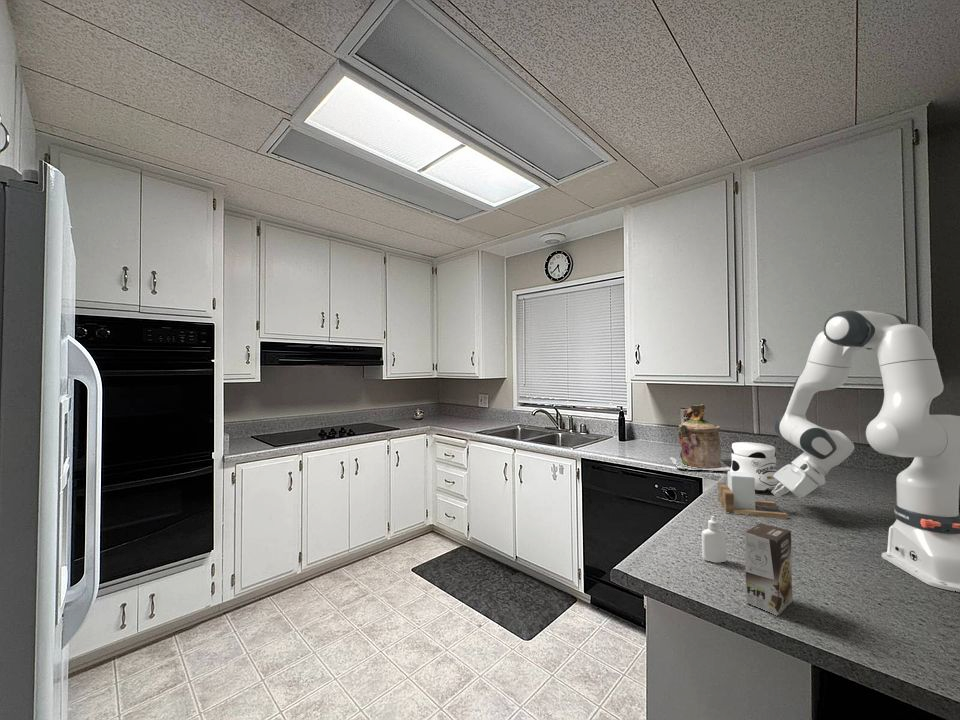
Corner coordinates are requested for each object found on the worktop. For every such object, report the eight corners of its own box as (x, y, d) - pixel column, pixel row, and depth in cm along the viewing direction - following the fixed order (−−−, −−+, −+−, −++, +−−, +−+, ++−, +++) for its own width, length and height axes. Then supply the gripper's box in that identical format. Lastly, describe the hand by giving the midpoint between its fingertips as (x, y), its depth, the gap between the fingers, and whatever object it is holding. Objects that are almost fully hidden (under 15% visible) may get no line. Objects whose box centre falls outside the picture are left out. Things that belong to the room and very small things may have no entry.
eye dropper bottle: (704, 554, 115) (703, 511, 115) (727, 560, 112) (726, 516, 112) (700, 560, 112) (699, 516, 112) (724, 566, 108) (723, 521, 108)
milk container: (779, 498, 160) (777, 451, 160) (727, 490, 170) (726, 447, 170) (780, 486, 173) (779, 444, 173) (732, 480, 184) (731, 440, 184)
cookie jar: (719, 461, 217) (717, 401, 217) (734, 474, 194) (733, 406, 194) (668, 459, 224) (667, 401, 224) (677, 471, 200) (676, 405, 200)
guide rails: (787, 519, 139) (787, 514, 139) (726, 513, 145) (726, 509, 145) (775, 506, 151) (774, 502, 151) (719, 501, 157) (719, 497, 157)
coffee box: (778, 617, 87) (777, 541, 87) (744, 603, 92) (743, 531, 92) (794, 602, 92) (792, 530, 92) (761, 589, 97) (759, 521, 97)
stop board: (734, 514, 144) (733, 494, 144) (725, 513, 145) (725, 493, 145) (726, 501, 156) (725, 483, 157) (718, 501, 157) (718, 483, 157)
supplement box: (756, 513, 145) (755, 477, 145) (731, 511, 147) (730, 475, 147) (750, 506, 151) (750, 472, 152) (727, 504, 154) (726, 470, 154)
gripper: (788, 456, 153) (758, 480, 156) (810, 469, 134) (775, 496, 137) (803, 468, 151) (772, 493, 154) (827, 484, 132) (792, 511, 135)
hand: (774, 495), depth 145 cm, fingers closed
